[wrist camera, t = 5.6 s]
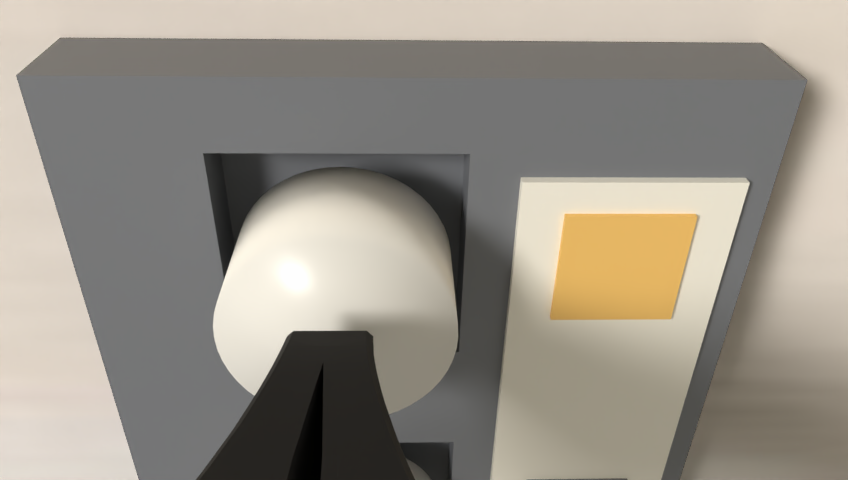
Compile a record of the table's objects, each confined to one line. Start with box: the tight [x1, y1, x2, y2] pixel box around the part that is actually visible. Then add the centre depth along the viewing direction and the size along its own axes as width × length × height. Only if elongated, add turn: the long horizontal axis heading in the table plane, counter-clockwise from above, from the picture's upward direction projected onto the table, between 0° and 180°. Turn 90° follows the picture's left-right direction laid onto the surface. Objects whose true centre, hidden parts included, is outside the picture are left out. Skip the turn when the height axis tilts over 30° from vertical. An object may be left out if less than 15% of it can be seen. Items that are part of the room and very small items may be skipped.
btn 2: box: [213, 167, 458, 414], centre depth 14 cm, size 4×4×2 cm
